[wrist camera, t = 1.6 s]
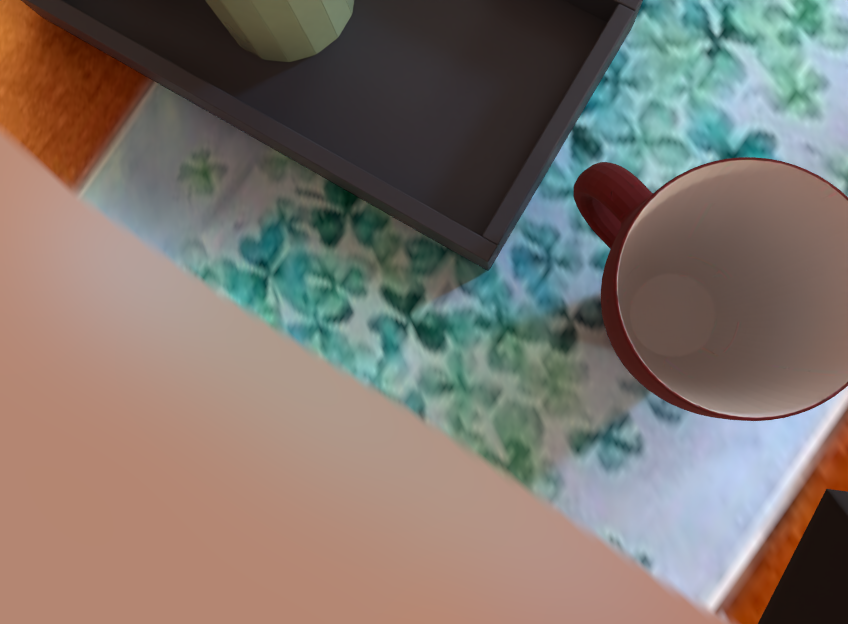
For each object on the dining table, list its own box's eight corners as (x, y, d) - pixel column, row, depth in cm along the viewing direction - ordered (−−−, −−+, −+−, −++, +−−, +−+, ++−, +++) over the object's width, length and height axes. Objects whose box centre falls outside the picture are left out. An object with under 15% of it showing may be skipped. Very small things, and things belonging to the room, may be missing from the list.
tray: (178, -206, 37) (154, -250, 34) (633, 24, 33) (645, -6, 31) (41, 16, 36) (6, -11, 34) (488, 271, 33) (488, 262, 30)
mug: (496, 285, 33) (496, 245, 23) (616, 151, 33) (669, 52, 23) (681, 448, 31) (767, 479, 22) (807, 308, 31) (951, 274, 22)
